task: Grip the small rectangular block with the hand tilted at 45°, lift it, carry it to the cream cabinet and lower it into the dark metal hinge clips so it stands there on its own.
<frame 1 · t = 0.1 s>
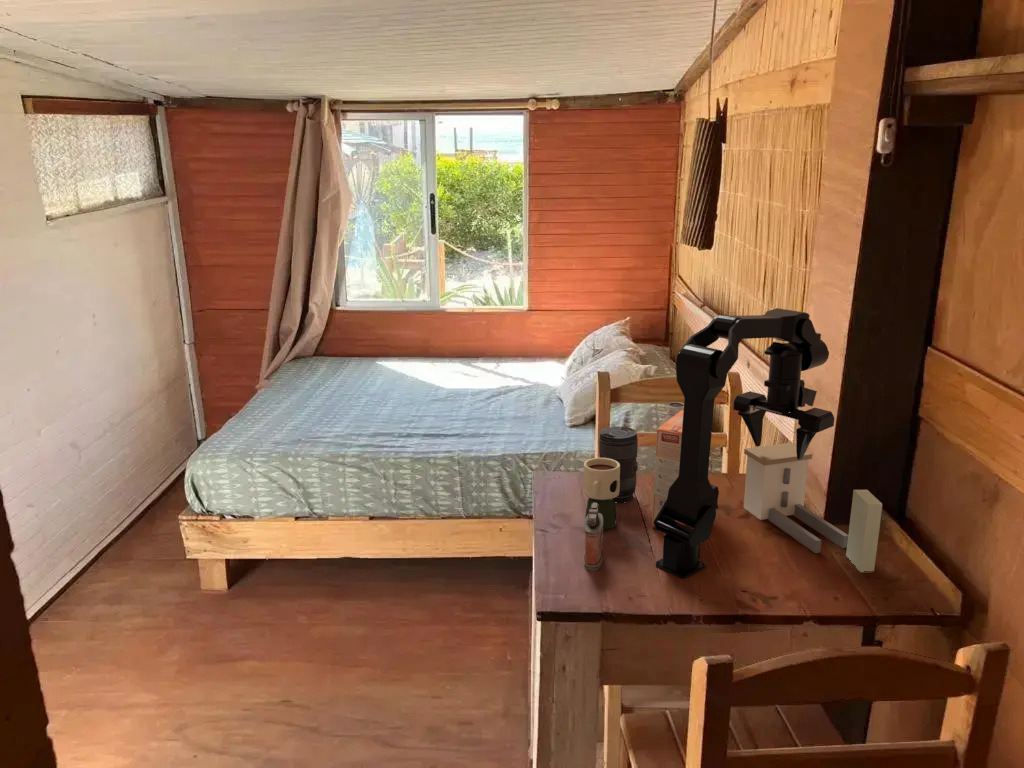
hand: (778, 452, 151), 15 cm above the table, tool pointing down, fingers open, 9 cm apart
cabinet: (819, 542, 146), on the table
plastic bottle: (672, 492, 169), on the table
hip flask: (593, 560, 141), on the table
cracker box: (677, 518, 157), on the table
rectangular block: (859, 563, 138), on the table
character mug: (600, 525, 155), on the table
camera lens: (617, 498, 167), on the table
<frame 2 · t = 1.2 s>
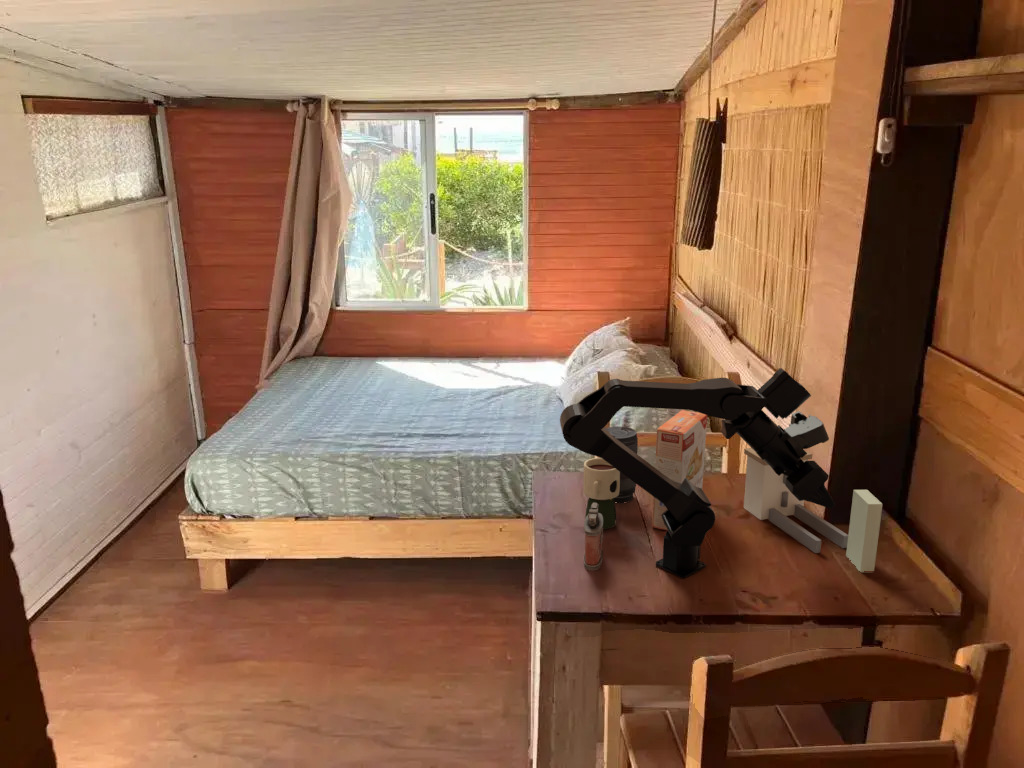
hand: (822, 495, 135), 13 cm above the table, tool tilted 45°, fingers open, 9 cm apart
nothing on the table moved.
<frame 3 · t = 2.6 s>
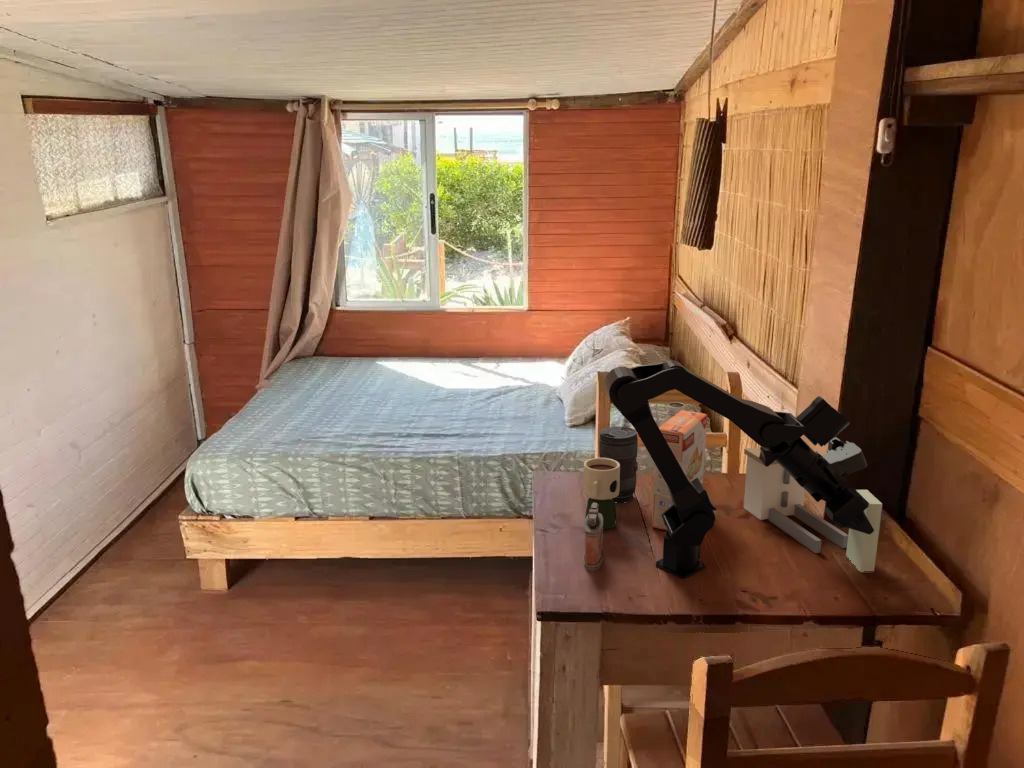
hand: (860, 520, 136), 9 cm above the table, tool tilted 45°, fingers open, 9 cm apart
nothing on the table moved.
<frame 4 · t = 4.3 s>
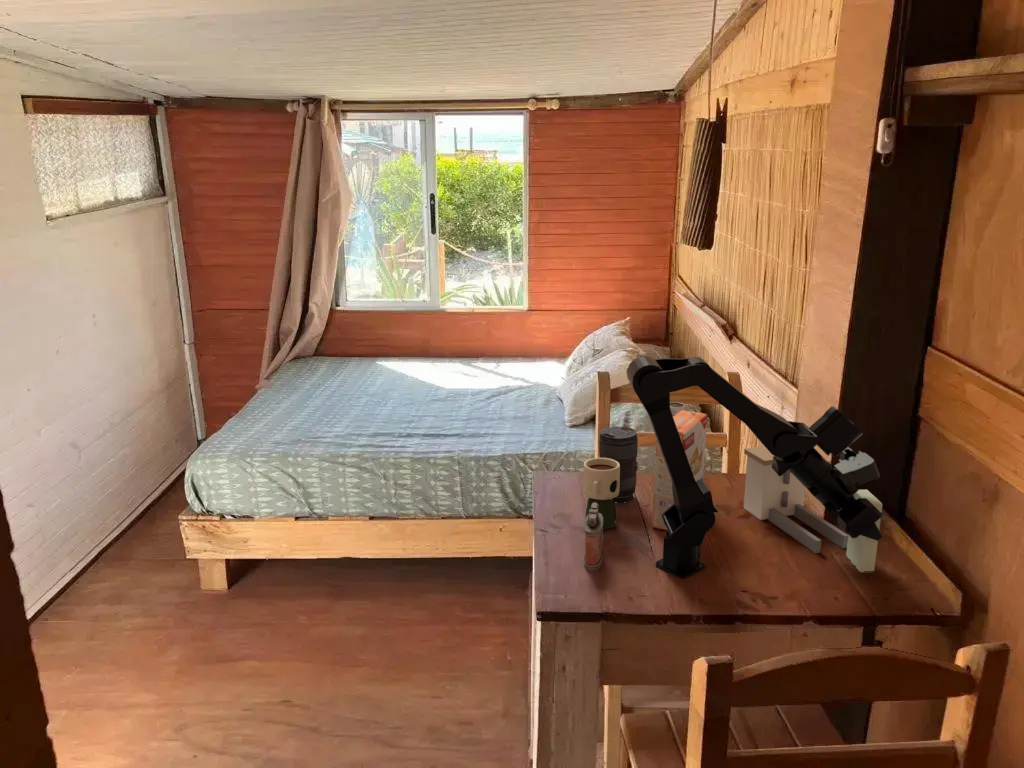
hand: (871, 530, 137), 7 cm above the table, tool tilted 45°, fingers closed on rectangular block, 6 cm apart
rectangular block: (859, 563, 138), on the table, touching gripper
everything else where it was.
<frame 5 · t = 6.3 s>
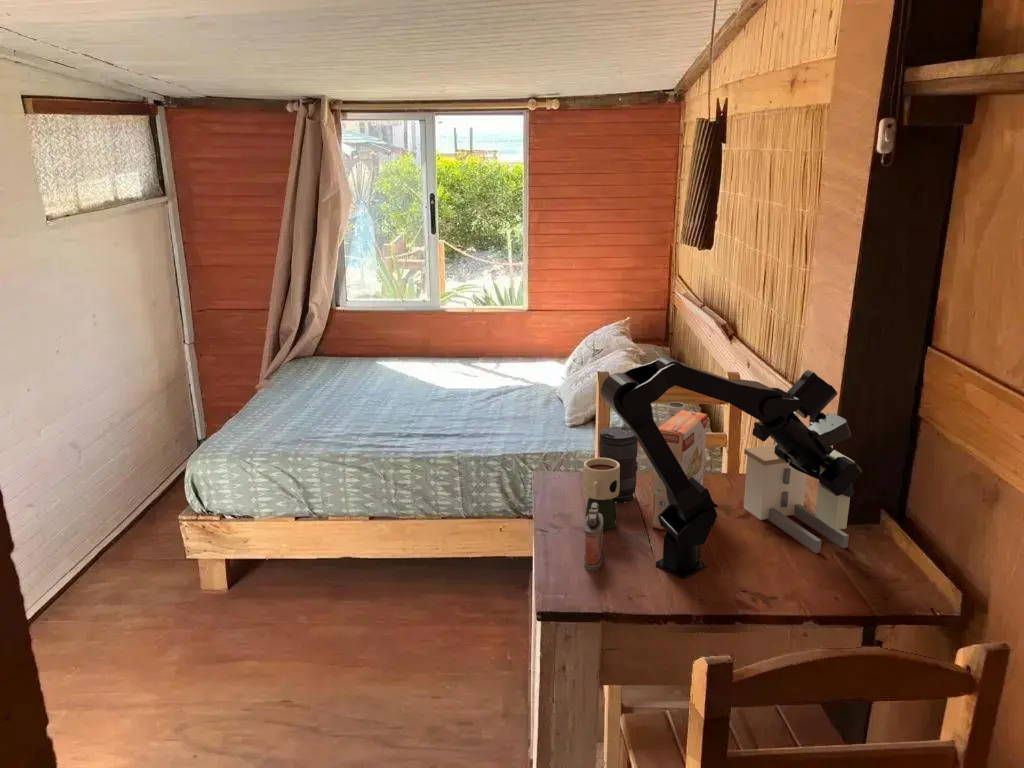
hand: (840, 488, 142), 12 cm above the table, tool tilted 45°, fingers closed on rectangular block, 6 cm apart
rectangular block: (830, 521, 143), point 5 cm above the table, touching gripper
everything else where it was.
when the fingers open (7 cm above the table, at t = 8.3 s): rectangular block stays where it is, on the table.
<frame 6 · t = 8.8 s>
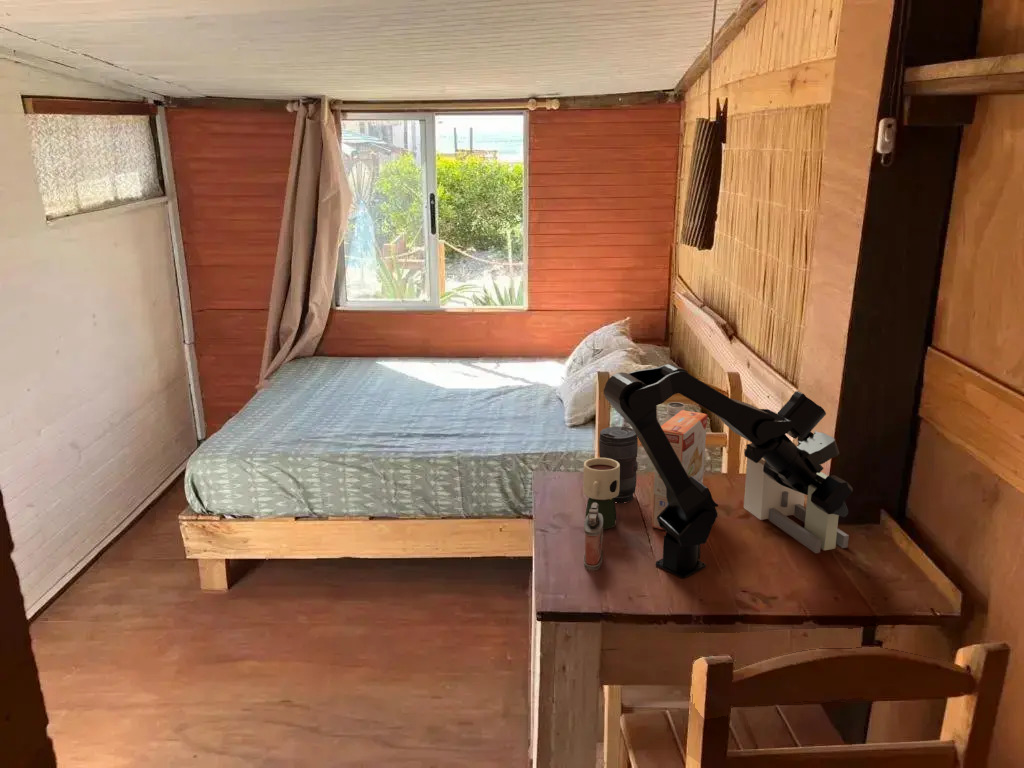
hand: (829, 504, 145), 8 cm above the table, tool tilted 45°, fingers open, 9 cm apart
rectangular block: (819, 542, 146), on the table
everything else where it was.
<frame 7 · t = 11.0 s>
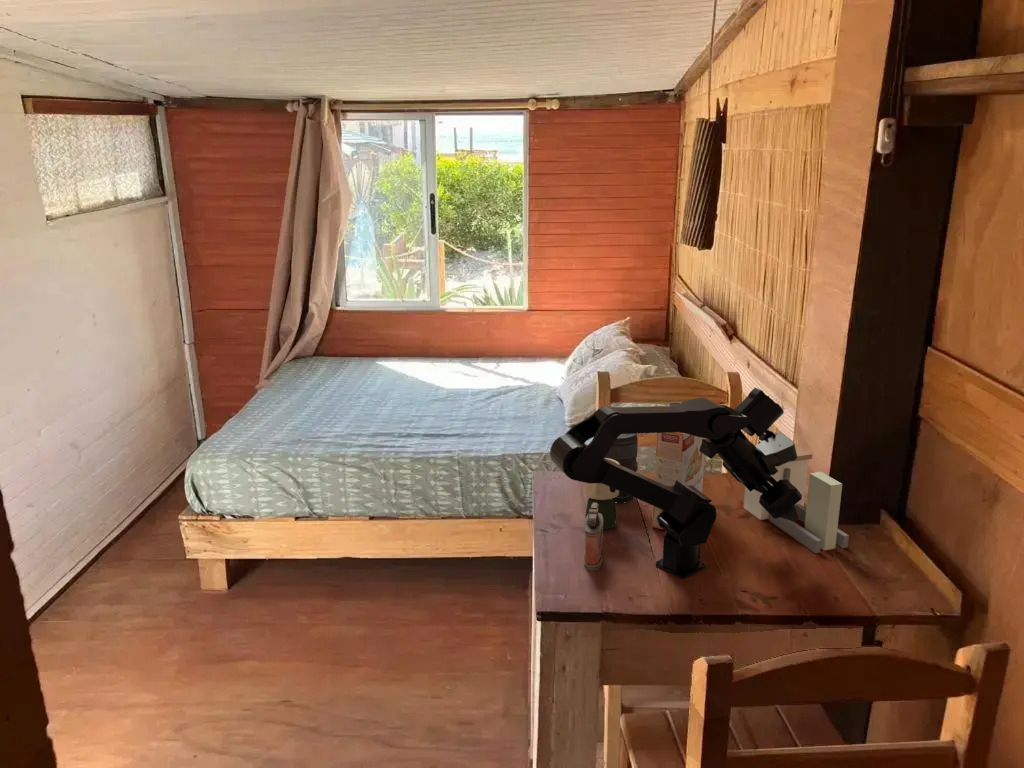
hand: (782, 506, 142), 8 cm above the table, tool tilted 40°, fingers open, 9 cm apart
nothing on the table moved.
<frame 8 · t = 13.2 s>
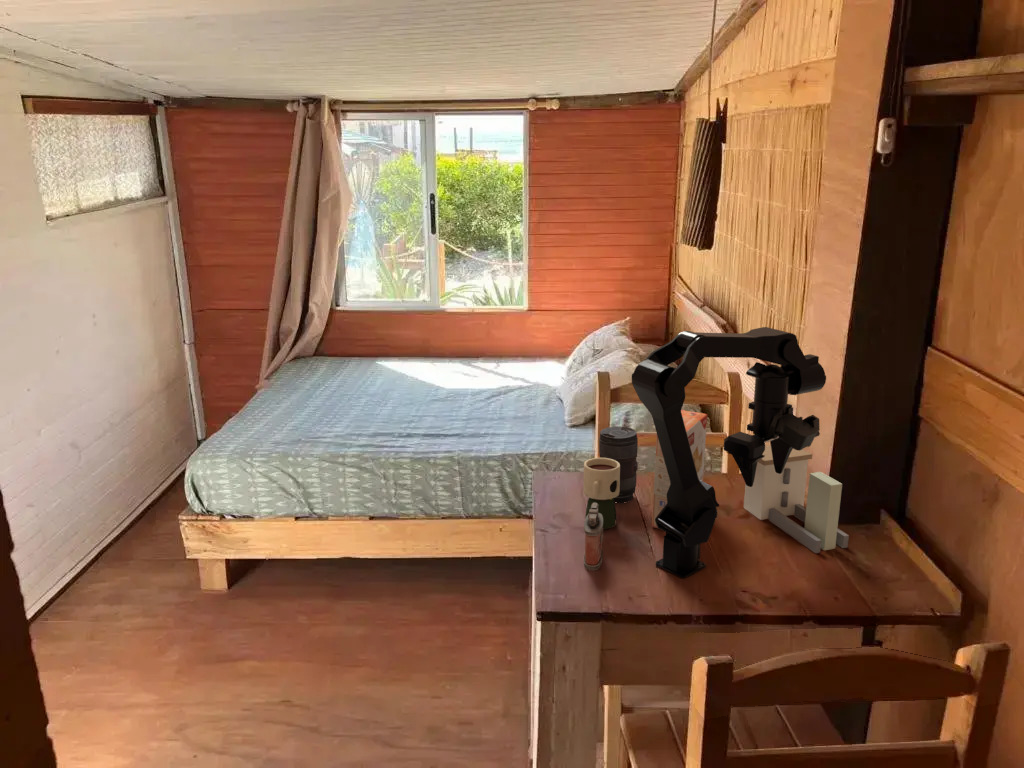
hand: (764, 479, 143), 13 cm above the table, tool pointing down, fingers open, 9 cm apart
nothing on the table moved.
at the end: rectangular block 0.0 cm off-centre on the cabinet, point 0.0 cm above the cabinet's base; rectangular block tilted 0°; the gripper is holding nothing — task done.
